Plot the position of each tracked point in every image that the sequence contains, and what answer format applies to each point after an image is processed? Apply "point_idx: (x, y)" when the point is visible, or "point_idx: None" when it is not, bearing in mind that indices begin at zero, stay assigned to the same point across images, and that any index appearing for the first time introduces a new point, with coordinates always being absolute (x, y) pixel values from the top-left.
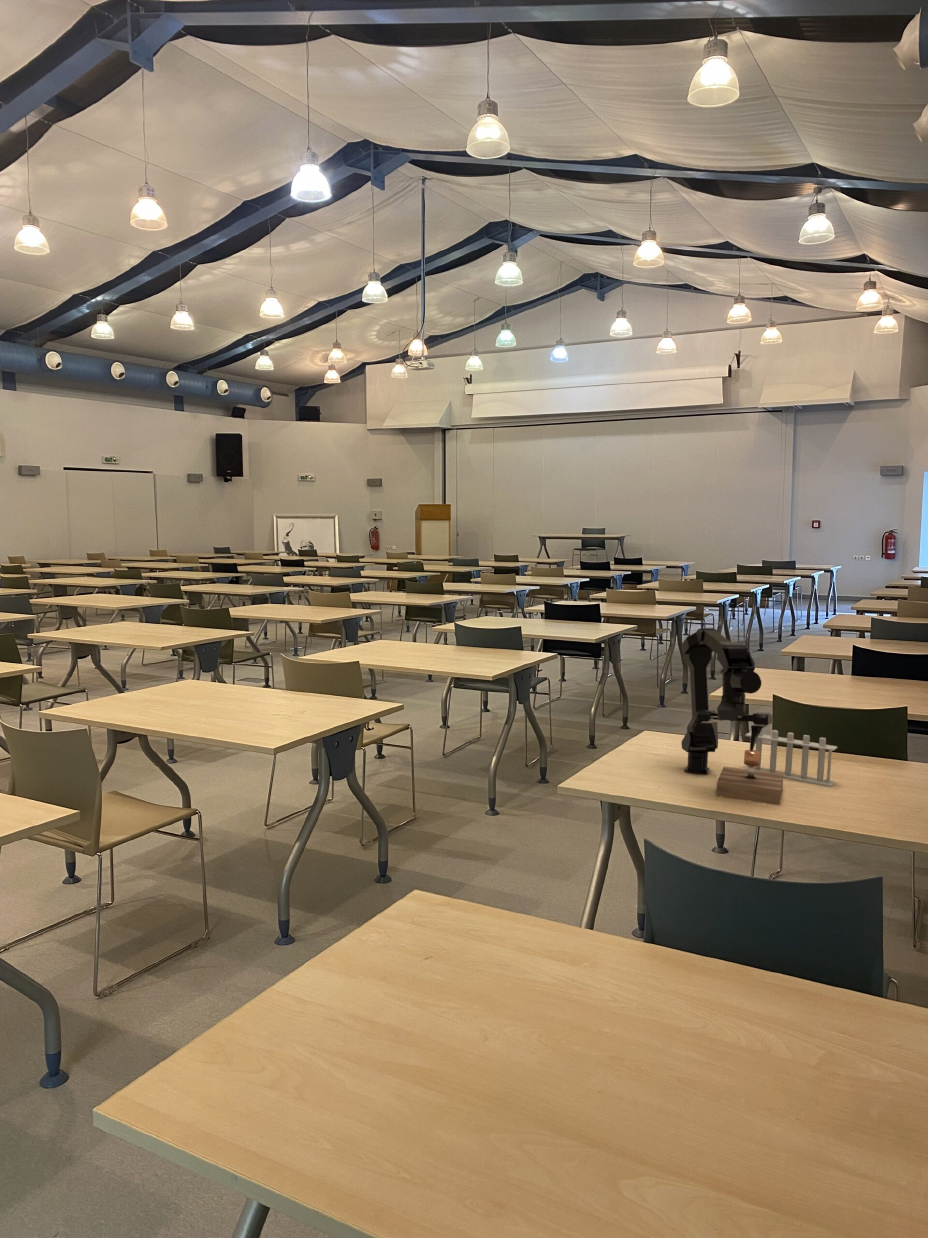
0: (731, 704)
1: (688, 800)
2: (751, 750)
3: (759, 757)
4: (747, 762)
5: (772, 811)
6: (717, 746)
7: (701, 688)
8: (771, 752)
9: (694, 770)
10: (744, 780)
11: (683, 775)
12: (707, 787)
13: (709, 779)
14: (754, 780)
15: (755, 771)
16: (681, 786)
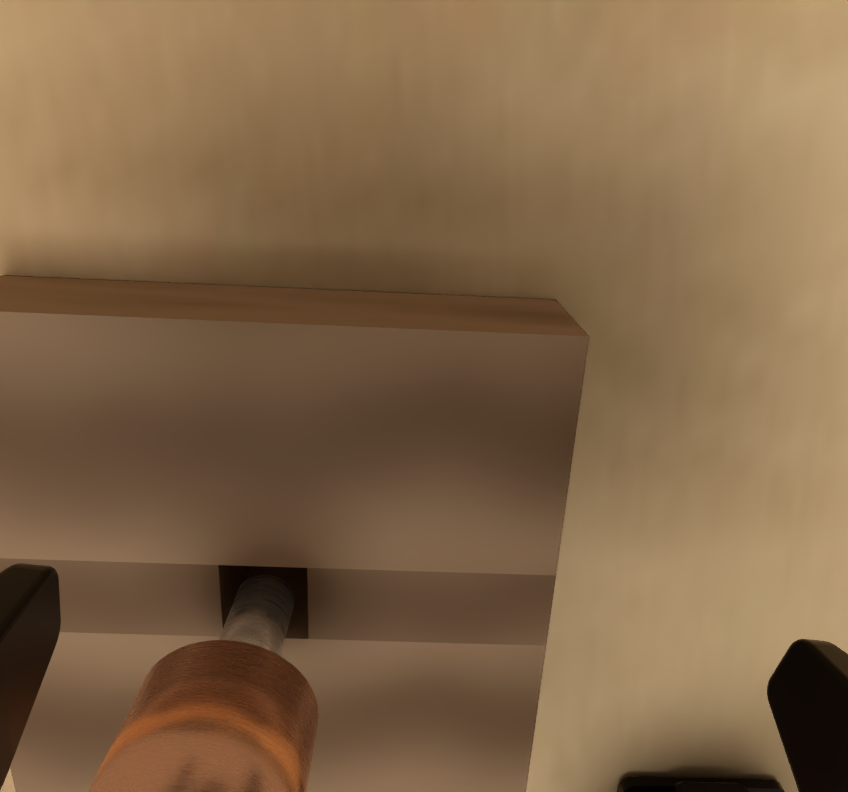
0: None
1: (826, 43)
2: (19, 568)
3: (93, 782)
4: (263, 678)
5: (19, 36)
6: (788, 715)
7: None
8: None
9: (722, 789)
10: (312, 491)
11: None
12: (625, 508)
13: (603, 696)
14: (219, 531)
15: None
16: (842, 450)
